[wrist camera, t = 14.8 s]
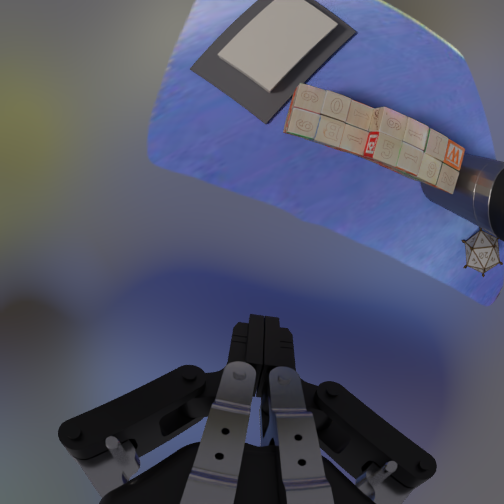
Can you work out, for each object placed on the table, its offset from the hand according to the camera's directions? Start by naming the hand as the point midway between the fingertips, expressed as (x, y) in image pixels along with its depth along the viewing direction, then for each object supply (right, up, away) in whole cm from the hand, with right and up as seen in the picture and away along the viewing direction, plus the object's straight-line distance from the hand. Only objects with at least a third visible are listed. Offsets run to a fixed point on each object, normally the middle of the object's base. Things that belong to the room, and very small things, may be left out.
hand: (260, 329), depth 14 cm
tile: (-2, +28, +18) cm, 33 cm away
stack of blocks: (+15, +21, +22) cm, 34 cm away
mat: (+3, +33, +17) cm, 38 cm away
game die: (+41, +6, +27) cm, 50 cm away
